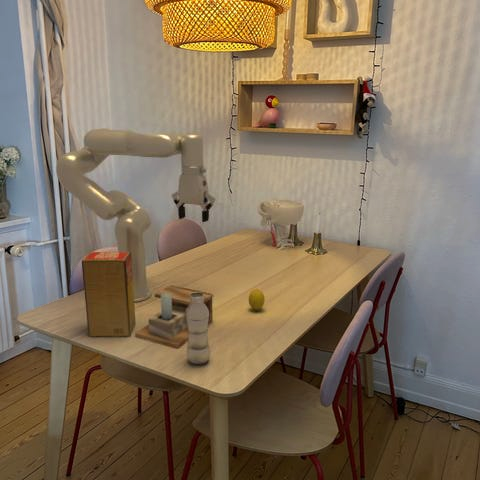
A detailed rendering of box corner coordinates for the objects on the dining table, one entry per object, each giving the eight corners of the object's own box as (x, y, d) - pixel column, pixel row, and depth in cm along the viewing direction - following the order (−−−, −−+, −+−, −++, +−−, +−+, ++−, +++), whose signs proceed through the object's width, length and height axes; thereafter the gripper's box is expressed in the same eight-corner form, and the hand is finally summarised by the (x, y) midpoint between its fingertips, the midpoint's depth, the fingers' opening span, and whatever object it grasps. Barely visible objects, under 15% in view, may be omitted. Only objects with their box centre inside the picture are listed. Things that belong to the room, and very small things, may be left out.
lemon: (254, 305, 165) (255, 284, 163) (267, 309, 162) (267, 288, 159) (245, 310, 161) (245, 289, 159) (257, 315, 157) (258, 293, 155)
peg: (166, 327, 145) (164, 292, 142) (174, 329, 144) (173, 294, 141) (160, 331, 143) (158, 295, 139) (168, 334, 141) (167, 297, 138)
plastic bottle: (198, 370, 124) (196, 301, 119) (181, 361, 129) (179, 294, 123) (215, 360, 129) (214, 294, 123) (198, 352, 133) (197, 288, 128)
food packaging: (136, 323, 151) (132, 250, 144) (130, 337, 142) (125, 260, 135) (95, 323, 151) (89, 250, 144) (87, 337, 141) (79, 260, 135)
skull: (307, 245, 237) (310, 202, 231) (293, 255, 222) (295, 208, 215) (264, 238, 249) (265, 197, 243) (248, 247, 233) (248, 203, 227)
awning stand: (171, 311, 159) (170, 285, 157) (213, 322, 152) (213, 294, 149) (134, 336, 142) (132, 306, 140) (179, 348, 135) (178, 317, 132)
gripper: (219, 171, 156) (220, 220, 161) (177, 168, 164) (179, 215, 169) (208, 174, 150) (209, 225, 155) (165, 170, 157) (167, 219, 162)
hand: (193, 219), depth 162 cm, fingers open, 9 cm apart
